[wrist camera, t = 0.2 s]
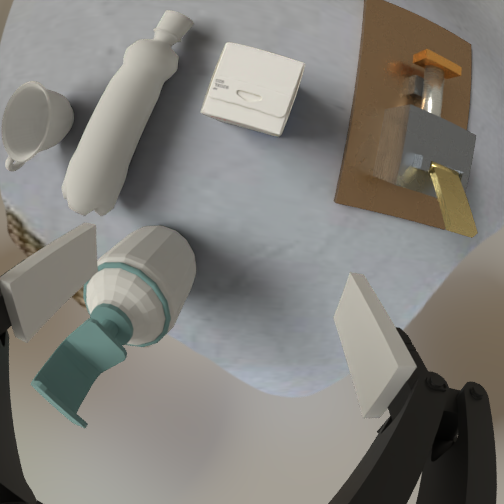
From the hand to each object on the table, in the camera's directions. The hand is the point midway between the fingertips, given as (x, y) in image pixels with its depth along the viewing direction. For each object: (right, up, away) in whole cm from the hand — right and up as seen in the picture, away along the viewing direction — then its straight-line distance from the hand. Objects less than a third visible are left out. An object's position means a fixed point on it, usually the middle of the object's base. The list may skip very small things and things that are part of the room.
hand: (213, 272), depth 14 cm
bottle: (-15, +21, +22) cm, 34 cm away
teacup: (-31, +22, +23) cm, 44 cm away
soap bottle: (-12, 0, +31) cm, 33 cm away
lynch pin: (+26, +21, +16) cm, 37 cm away
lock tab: (+24, +7, +12) cm, 27 cm away
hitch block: (+26, +22, +20) cm, 39 cm away
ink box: (+3, +21, +21) cm, 30 cm away
